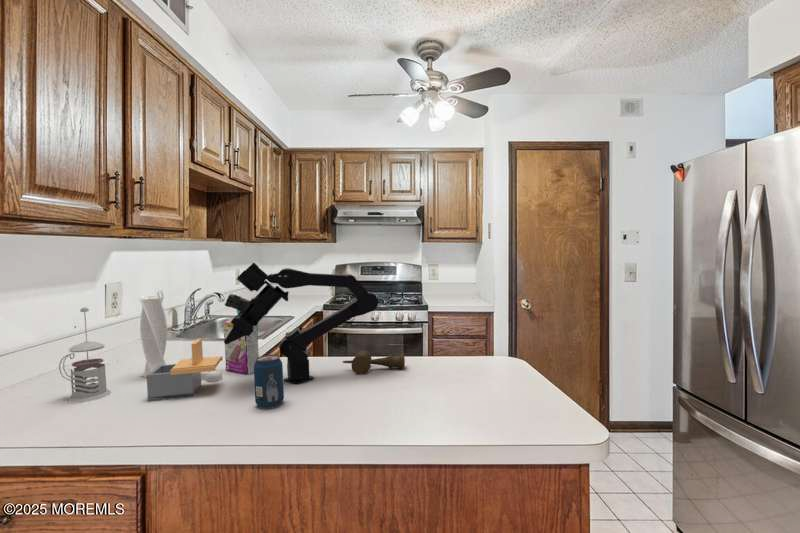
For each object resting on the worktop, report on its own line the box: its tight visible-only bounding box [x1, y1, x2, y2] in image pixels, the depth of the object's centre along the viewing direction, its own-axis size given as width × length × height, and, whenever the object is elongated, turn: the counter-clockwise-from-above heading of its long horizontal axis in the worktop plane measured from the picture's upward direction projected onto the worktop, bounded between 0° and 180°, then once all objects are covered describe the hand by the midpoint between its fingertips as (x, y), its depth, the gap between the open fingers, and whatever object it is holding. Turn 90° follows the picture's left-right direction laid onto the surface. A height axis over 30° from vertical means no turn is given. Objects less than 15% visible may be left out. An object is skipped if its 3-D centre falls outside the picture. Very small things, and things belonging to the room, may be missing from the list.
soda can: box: [253, 354, 285, 410], centre depth 104 cm, size 7×7×12 cm
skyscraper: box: [139, 290, 168, 379], centre depth 133 cm, size 8×8×28 cm
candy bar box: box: [223, 319, 260, 375], centre depth 135 cm, size 11×5×16 cm, turn 59°
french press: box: [58, 306, 112, 403], centre depth 115 cm, size 10×12×25 cm
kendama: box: [342, 350, 406, 375], centre depth 132 cm, size 6×10×20 cm
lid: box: [170, 338, 223, 375], centre depth 117 cm, size 11×12×7 cm
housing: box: [146, 363, 202, 402], centre depth 116 cm, size 11×10×7 cm
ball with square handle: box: [201, 369, 223, 383], centre depth 127 cm, size 7×4×2 cm, turn 72°
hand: (225, 343), depth 118 cm, fingers closed
